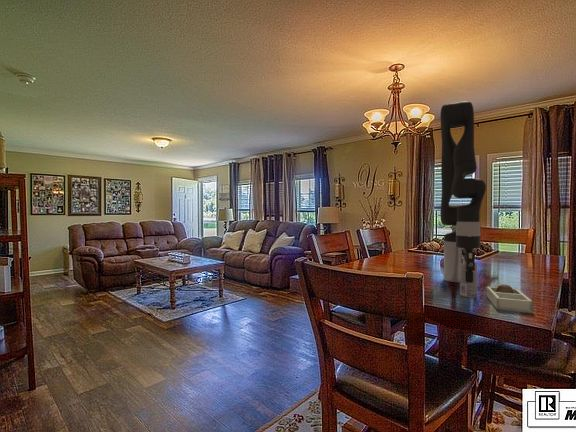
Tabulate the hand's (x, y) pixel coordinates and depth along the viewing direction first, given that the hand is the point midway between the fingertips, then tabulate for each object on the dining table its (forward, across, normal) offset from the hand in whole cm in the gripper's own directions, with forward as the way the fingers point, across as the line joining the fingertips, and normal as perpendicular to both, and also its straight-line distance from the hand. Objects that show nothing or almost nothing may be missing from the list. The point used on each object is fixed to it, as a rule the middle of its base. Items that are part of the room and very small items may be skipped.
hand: (467, 279), depth 111 cm
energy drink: (+6, 0, 0) cm, 6 cm away
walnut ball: (+5, +2, +11) cm, 12 cm away
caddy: (+6, +5, +11) cm, 14 cm away
